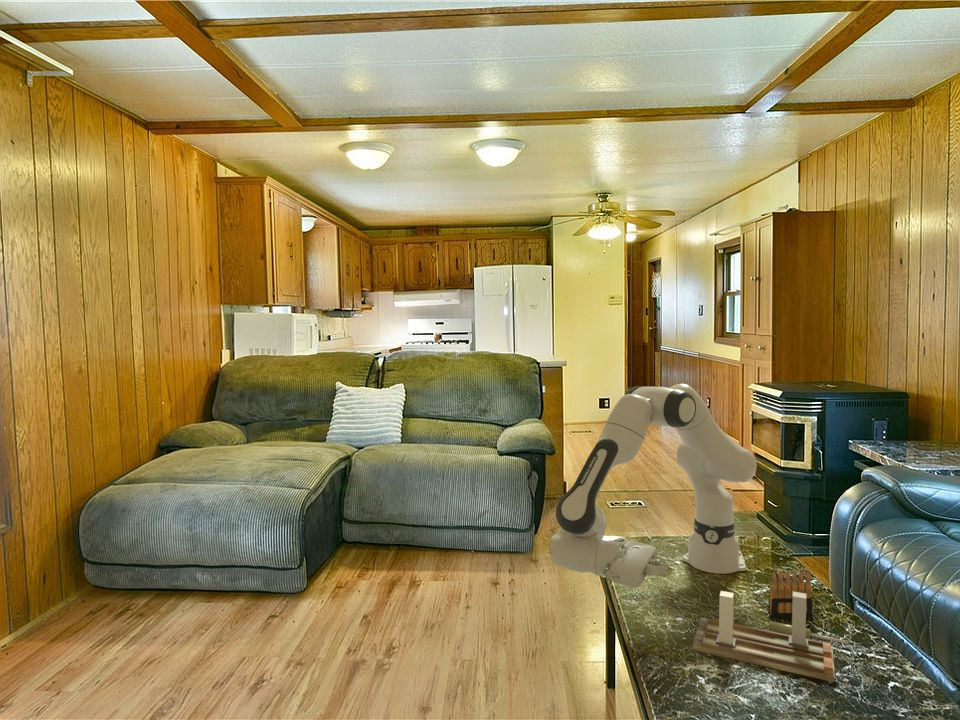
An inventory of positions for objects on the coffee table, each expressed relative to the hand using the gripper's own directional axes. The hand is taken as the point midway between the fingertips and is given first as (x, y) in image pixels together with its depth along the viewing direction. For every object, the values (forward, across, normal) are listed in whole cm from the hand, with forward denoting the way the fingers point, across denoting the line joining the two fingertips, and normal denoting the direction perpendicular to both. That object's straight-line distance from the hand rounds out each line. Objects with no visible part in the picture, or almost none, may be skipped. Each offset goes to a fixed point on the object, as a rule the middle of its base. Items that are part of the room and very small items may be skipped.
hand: (668, 569), depth 149 cm
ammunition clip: (+26, +26, +17) cm, 41 cm away
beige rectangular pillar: (+13, 0, +15) cm, 20 cm away
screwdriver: (+29, +15, +17) cm, 37 cm away
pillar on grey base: (+28, +7, +15) cm, 33 cm away
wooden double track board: (+21, +4, +17) cm, 27 cm away
